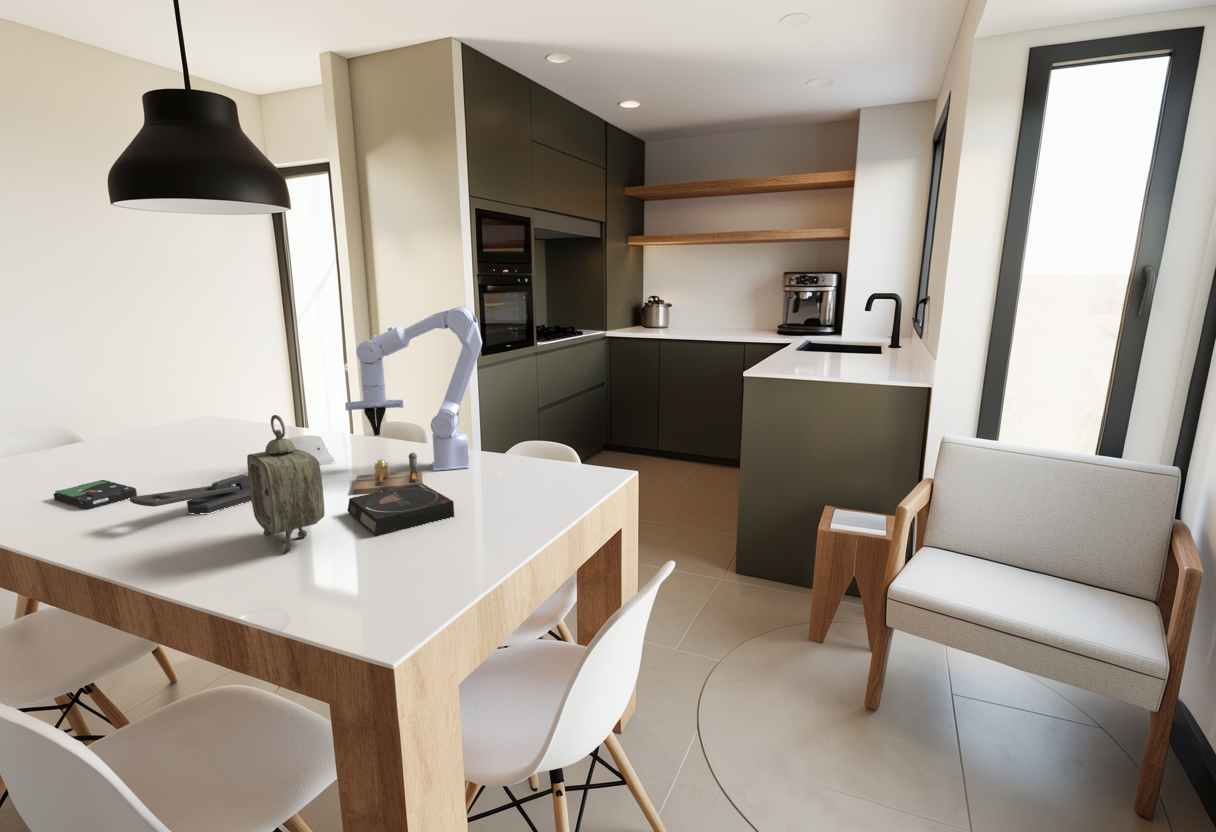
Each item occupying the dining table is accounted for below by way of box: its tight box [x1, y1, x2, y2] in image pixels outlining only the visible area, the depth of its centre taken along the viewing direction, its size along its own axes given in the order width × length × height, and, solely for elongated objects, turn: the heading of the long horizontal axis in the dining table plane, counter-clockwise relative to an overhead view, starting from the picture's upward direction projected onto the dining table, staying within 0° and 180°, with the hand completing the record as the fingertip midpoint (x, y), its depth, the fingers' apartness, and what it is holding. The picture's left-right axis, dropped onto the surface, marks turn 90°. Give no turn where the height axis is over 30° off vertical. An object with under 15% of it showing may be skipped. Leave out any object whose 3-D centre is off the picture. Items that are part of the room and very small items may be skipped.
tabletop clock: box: [246, 414, 325, 554], centre depth 117 cm, size 14×9×25 cm, turn 45°
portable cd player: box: [347, 483, 455, 537], centre depth 132 cm, size 16×17×4 cm
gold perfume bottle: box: [374, 459, 390, 482], centre depth 153 cm, size 3×7×4 cm, turn 18°
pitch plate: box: [352, 452, 424, 495], centre depth 154 cm, size 16×12×7 cm
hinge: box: [288, 434, 336, 466], centre depth 167 cm, size 17×5×10 cm, turn 155°
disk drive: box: [53, 479, 138, 511], centre depth 143 cm, size 10×3×15 cm
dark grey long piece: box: [129, 474, 252, 515], centre depth 135 cm, size 9×7×25 cm
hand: (377, 434), depth 166 cm, fingers closed
